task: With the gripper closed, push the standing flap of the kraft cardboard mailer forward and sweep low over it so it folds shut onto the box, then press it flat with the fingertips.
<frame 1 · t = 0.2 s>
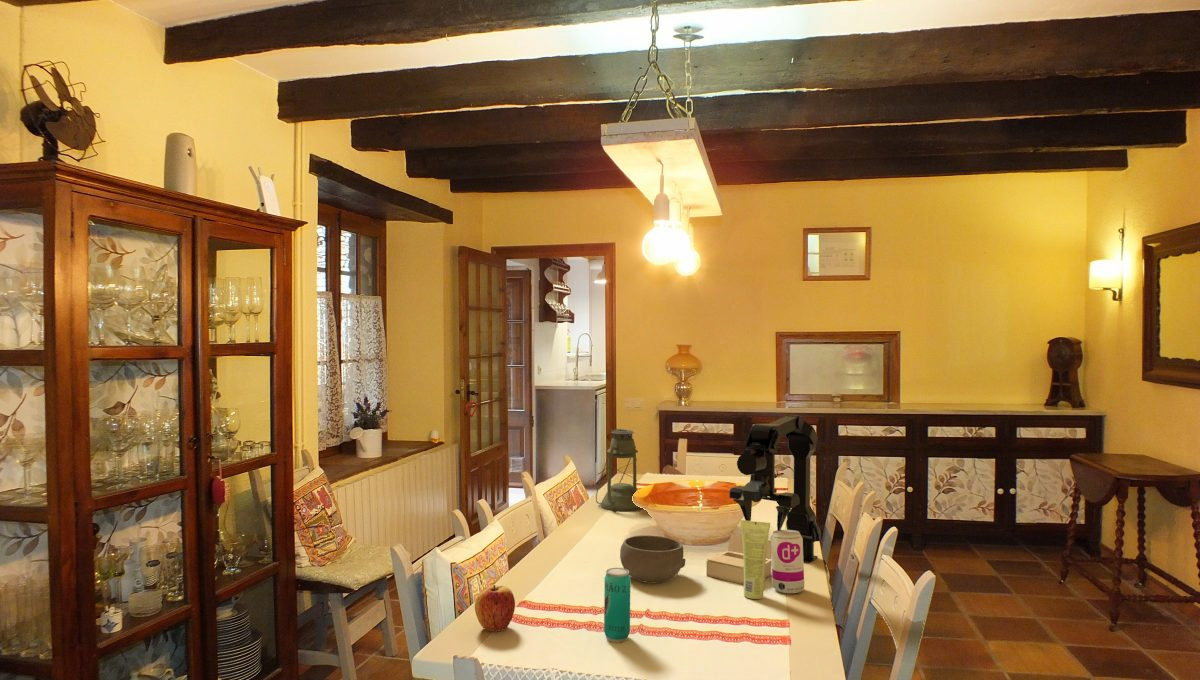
hand: (763, 527, 209), 15 cm above the table, fingers open, 9 cm apart
flap: (750, 546, 220), point 7 cm above the table, hinge at 115.1°
bowl: (651, 578, 211), on the table
apple: (494, 629, 174), on the table
carton: (738, 575, 214), on the table
lantern: (621, 506, 298), on the table
beverage can: (616, 639, 169), on the table
tube: (754, 597, 197), on the table
supplement can: (788, 590, 202), on the table, touching gripper
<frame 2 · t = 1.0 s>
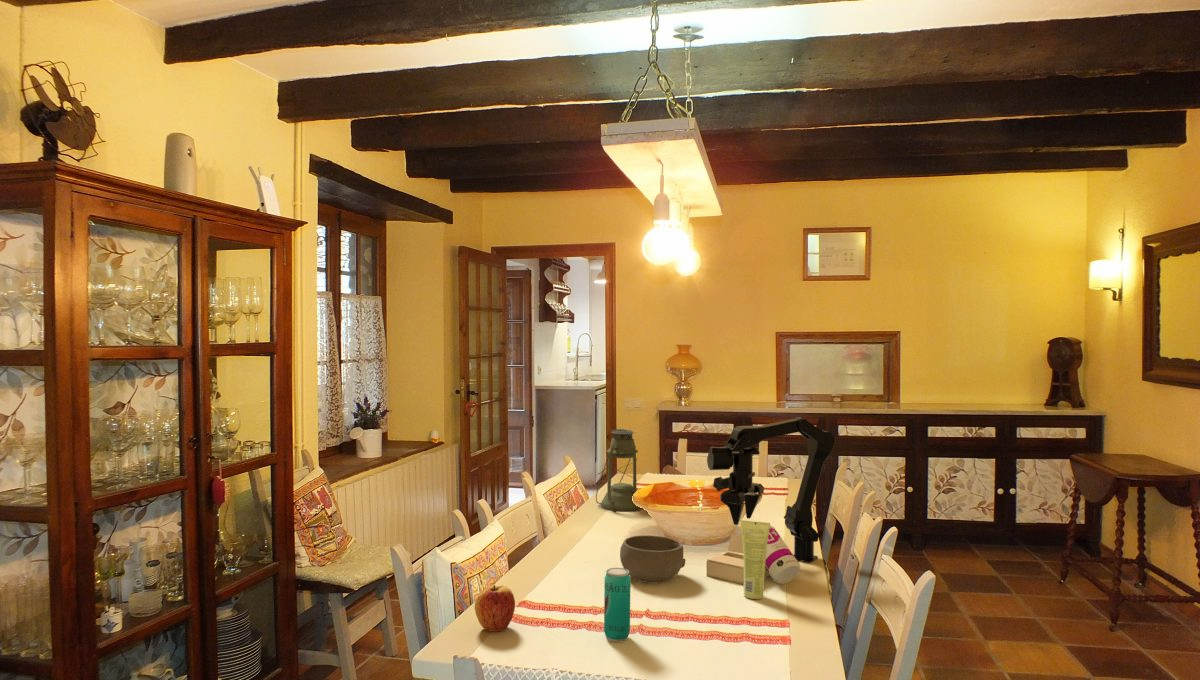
hand: (742, 521, 227), 12 cm above the table, fingers open, 9 cm apart
supplement can: (788, 575, 204), point 3 cm above the table, touching carton
everything else where it was.
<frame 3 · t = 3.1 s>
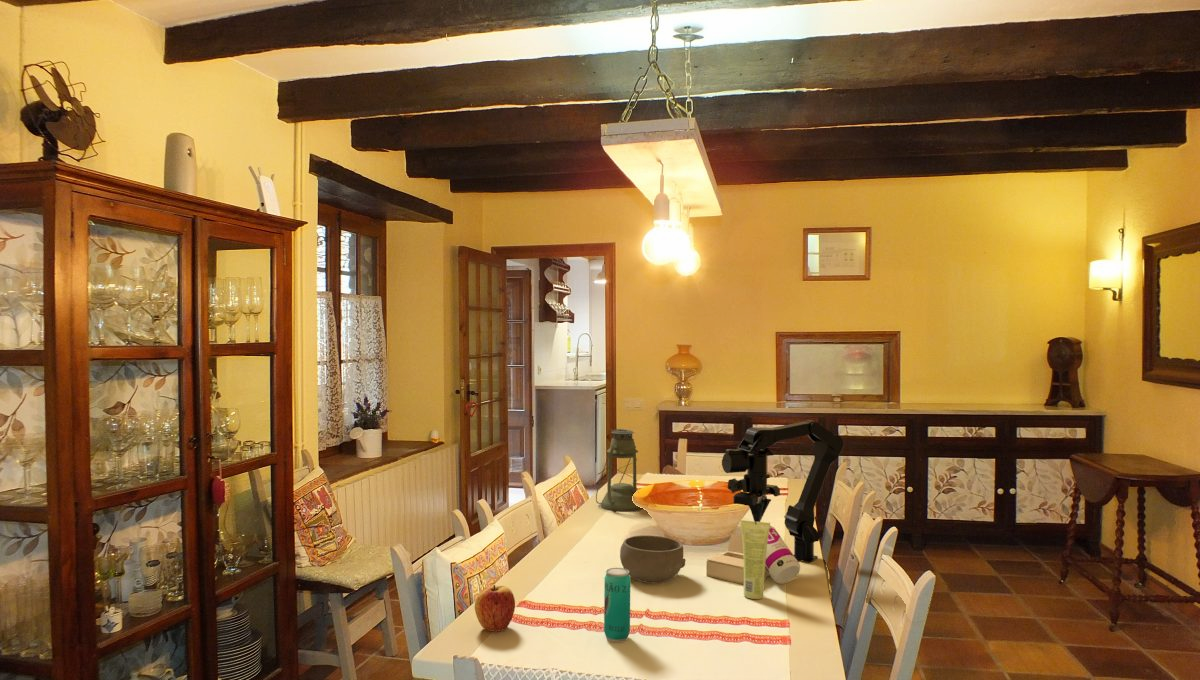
hand: (757, 523, 225), 12 cm above the table, fingers closed
nothing on the table moved.
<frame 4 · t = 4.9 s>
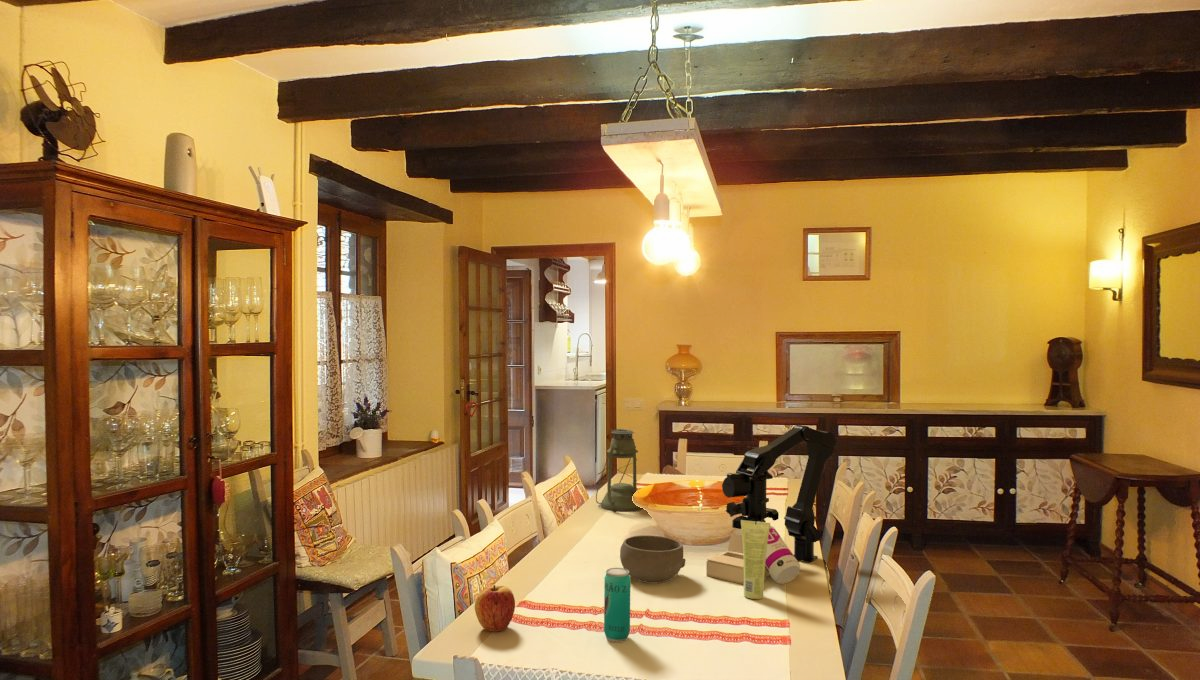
hand: (755, 548, 222), 5 cm above the table, fingers closed
flap: (750, 546, 220), point 7 cm above the table, hinge at 115.0°, touching gripper, supplement can
supplement can: (788, 575, 204), point 3 cm above the table, touching carton, flap
everything else where it was.
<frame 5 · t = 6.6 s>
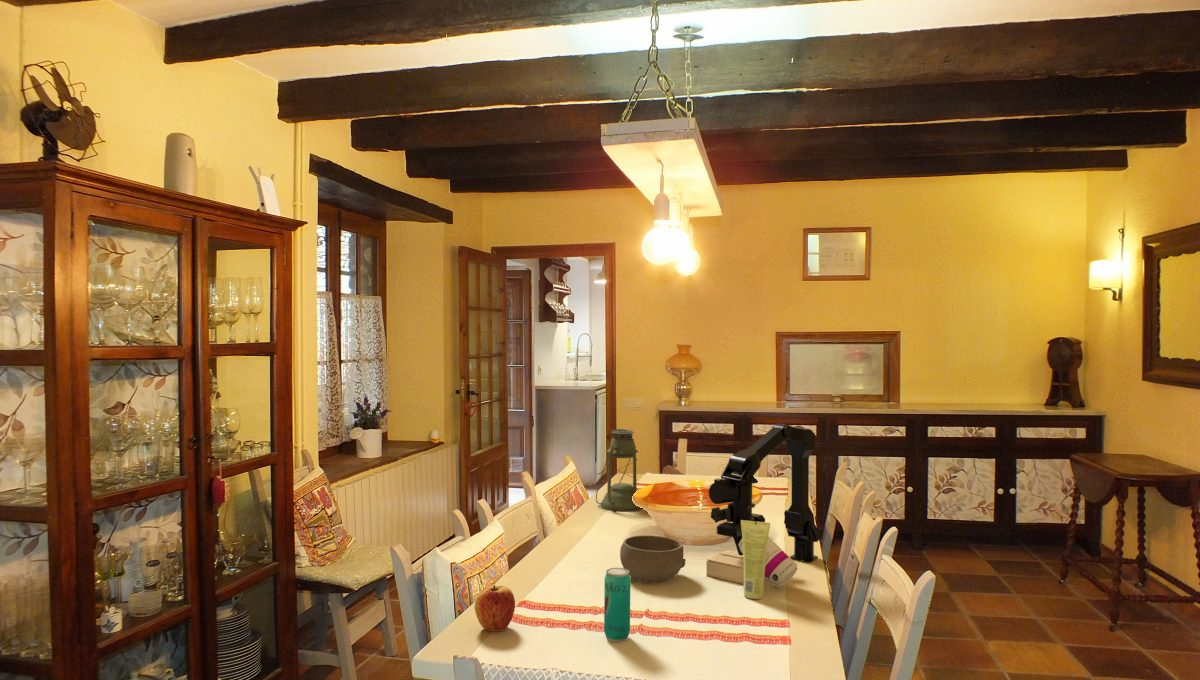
hand: (740, 555, 215), 5 cm above the table, fingers closed
flap: (744, 556, 217), point 5 cm above the table, hinge at 2.4°
supplement can: (788, 578, 202), point 3 cm above the table, touching gripper
everything else where it was.
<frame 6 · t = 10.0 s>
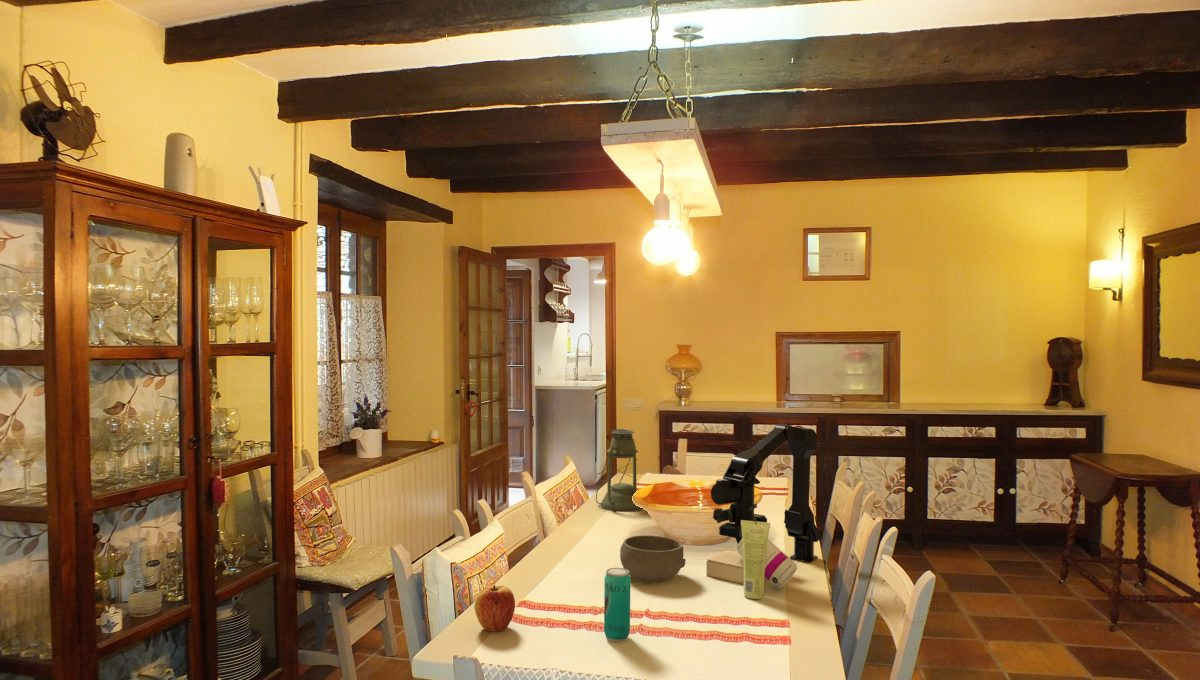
hand: (743, 555, 216), 5 cm above the table, fingers closed
flap: (744, 556, 217), point 4 cm above the table, hinge at -0.5°
supplement can: (788, 578, 202), point 3 cm above the table, touching carton
everything else where it was.
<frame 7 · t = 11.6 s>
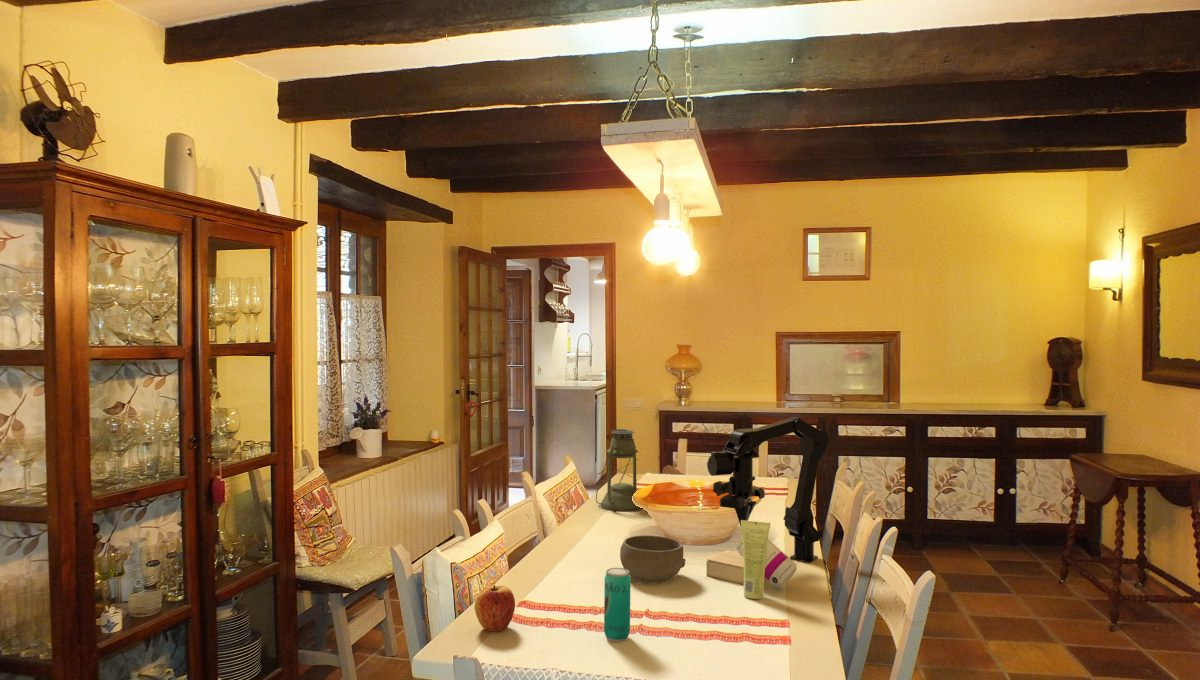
hand: (742, 526, 223), 11 cm above the table, fingers closed
nothing on the table moved.
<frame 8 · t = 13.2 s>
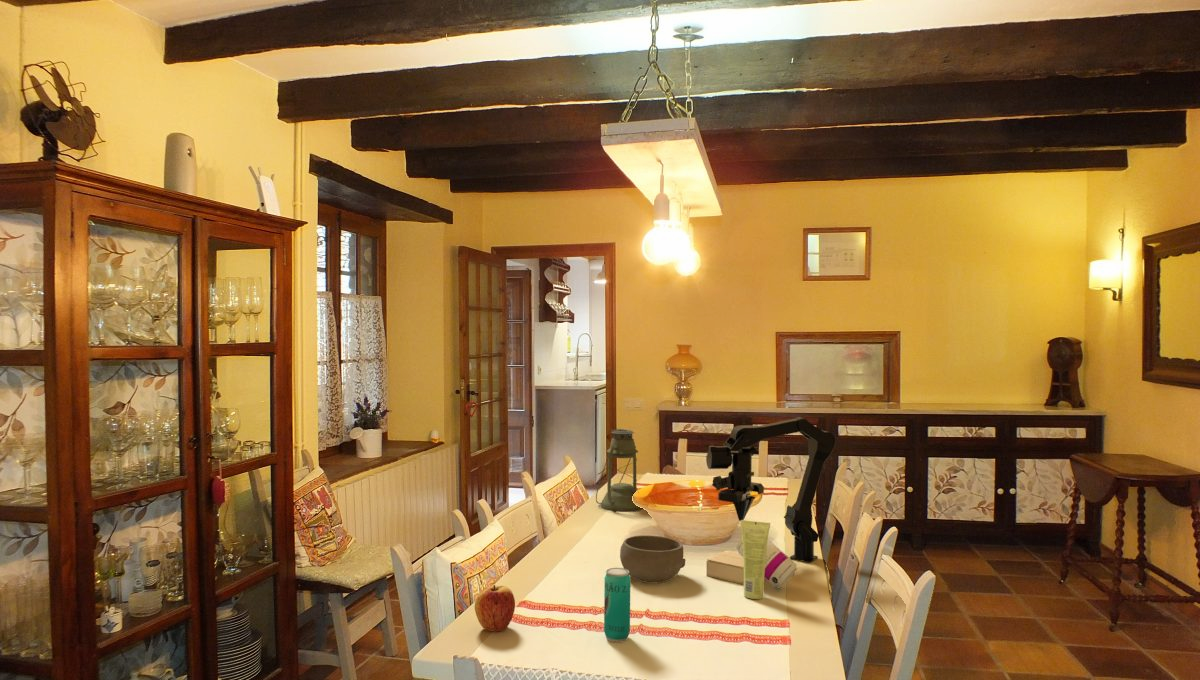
hand: (741, 520, 228), 12 cm above the table, fingers closed
nothing on the table moved.
at the end: flap at +0° (first picture: +115°) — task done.
